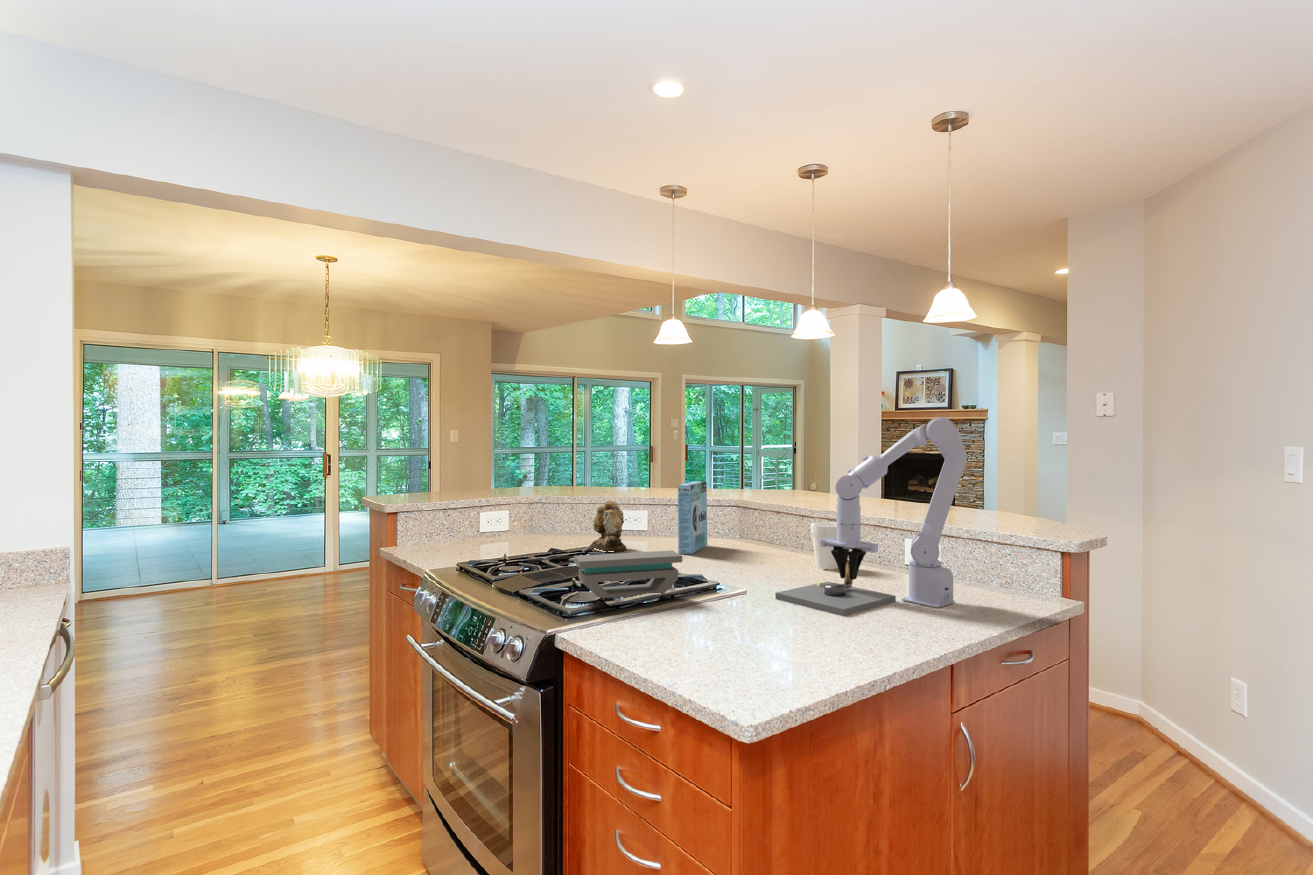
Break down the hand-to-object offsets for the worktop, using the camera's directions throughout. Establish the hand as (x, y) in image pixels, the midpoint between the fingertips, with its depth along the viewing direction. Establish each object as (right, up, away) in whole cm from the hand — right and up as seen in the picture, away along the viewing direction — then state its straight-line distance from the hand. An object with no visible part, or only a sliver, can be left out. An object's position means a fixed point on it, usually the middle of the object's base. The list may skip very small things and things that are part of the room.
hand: (848, 578), depth 173 cm
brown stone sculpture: (-65, -4, +68) cm, 94 cm away
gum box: (-35, -4, +66) cm, 75 cm away
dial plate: (-5, -4, -5) cm, 8 cm away
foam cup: (+3, -4, +34) cm, 34 cm away
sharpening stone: (-55, -5, -5) cm, 55 cm away
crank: (-3, -3, -3) cm, 5 cm away
